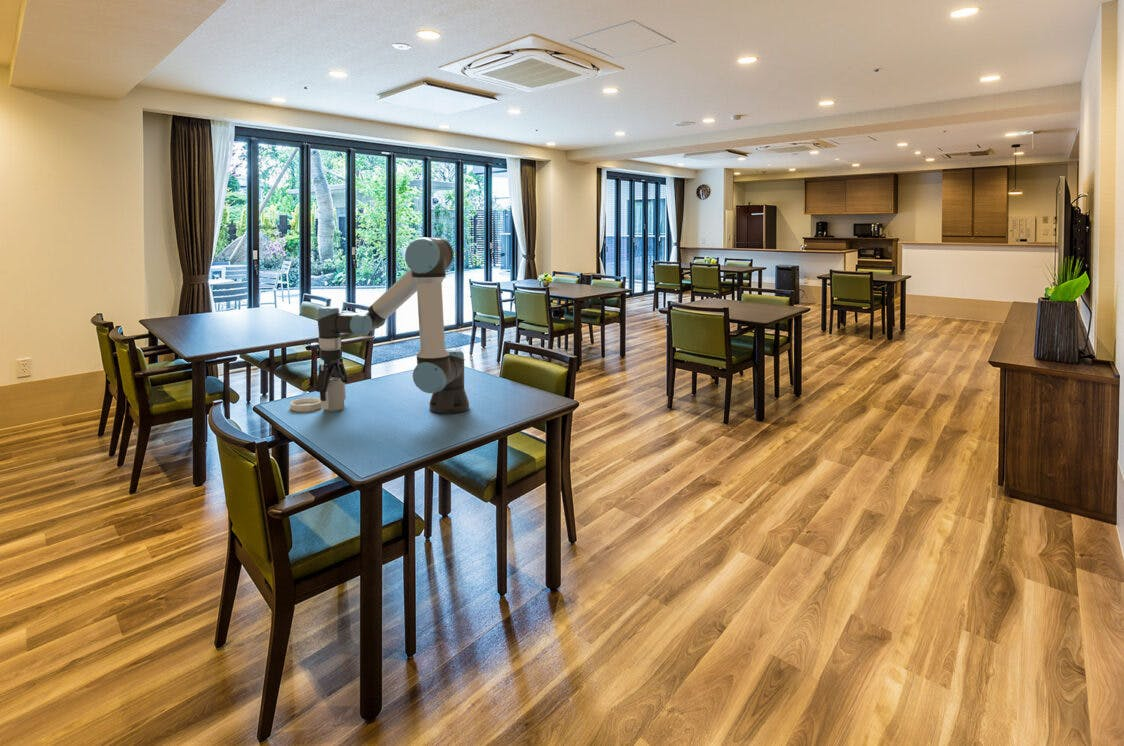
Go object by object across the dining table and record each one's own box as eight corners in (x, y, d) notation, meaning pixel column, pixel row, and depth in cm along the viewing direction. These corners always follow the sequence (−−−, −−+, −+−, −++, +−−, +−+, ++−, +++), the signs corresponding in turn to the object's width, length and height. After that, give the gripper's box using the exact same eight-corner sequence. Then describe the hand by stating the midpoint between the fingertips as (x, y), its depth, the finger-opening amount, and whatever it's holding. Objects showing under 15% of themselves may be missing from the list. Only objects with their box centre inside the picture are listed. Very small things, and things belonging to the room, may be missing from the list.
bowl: (327, 404, 239) (327, 398, 239) (312, 412, 229) (312, 406, 228) (300, 403, 241) (300, 397, 240) (285, 410, 230) (284, 404, 229)
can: (323, 407, 236) (321, 377, 233) (344, 406, 238) (342, 375, 235) (323, 413, 229) (321, 381, 226) (344, 411, 231) (343, 380, 229)
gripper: (336, 342, 241) (339, 395, 245) (303, 354, 217) (307, 412, 221) (354, 343, 240) (357, 396, 245) (323, 355, 216) (327, 413, 221)
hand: (333, 404), depth 233 cm, fingers open, 13 cm apart
